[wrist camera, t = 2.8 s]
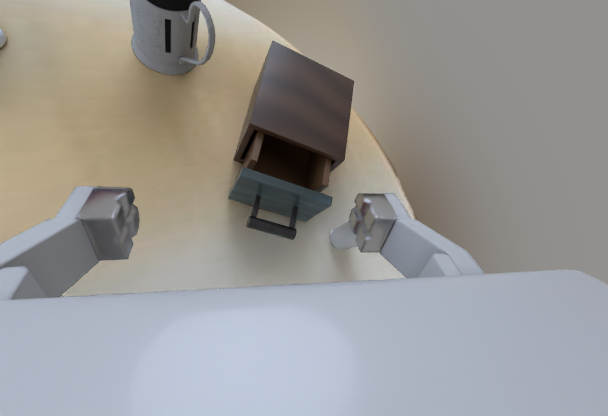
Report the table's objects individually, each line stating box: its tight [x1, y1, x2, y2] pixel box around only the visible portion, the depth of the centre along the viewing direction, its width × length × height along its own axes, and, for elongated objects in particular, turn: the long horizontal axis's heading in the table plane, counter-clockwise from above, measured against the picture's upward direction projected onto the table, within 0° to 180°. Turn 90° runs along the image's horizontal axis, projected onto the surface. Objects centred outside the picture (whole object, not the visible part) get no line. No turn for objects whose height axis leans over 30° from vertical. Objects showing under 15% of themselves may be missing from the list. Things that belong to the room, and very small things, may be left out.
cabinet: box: [234, 41, 354, 172], centre depth 42 cm, size 14×13×10 cm
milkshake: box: [330, 221, 358, 250], centre depth 41 cm, size 4×5×10 cm
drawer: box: [228, 129, 332, 240], centre depth 39 cm, size 17×11×8 cm
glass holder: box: [130, 0, 215, 75], centre depth 36 cm, size 9×14×15 cm, turn 36°
